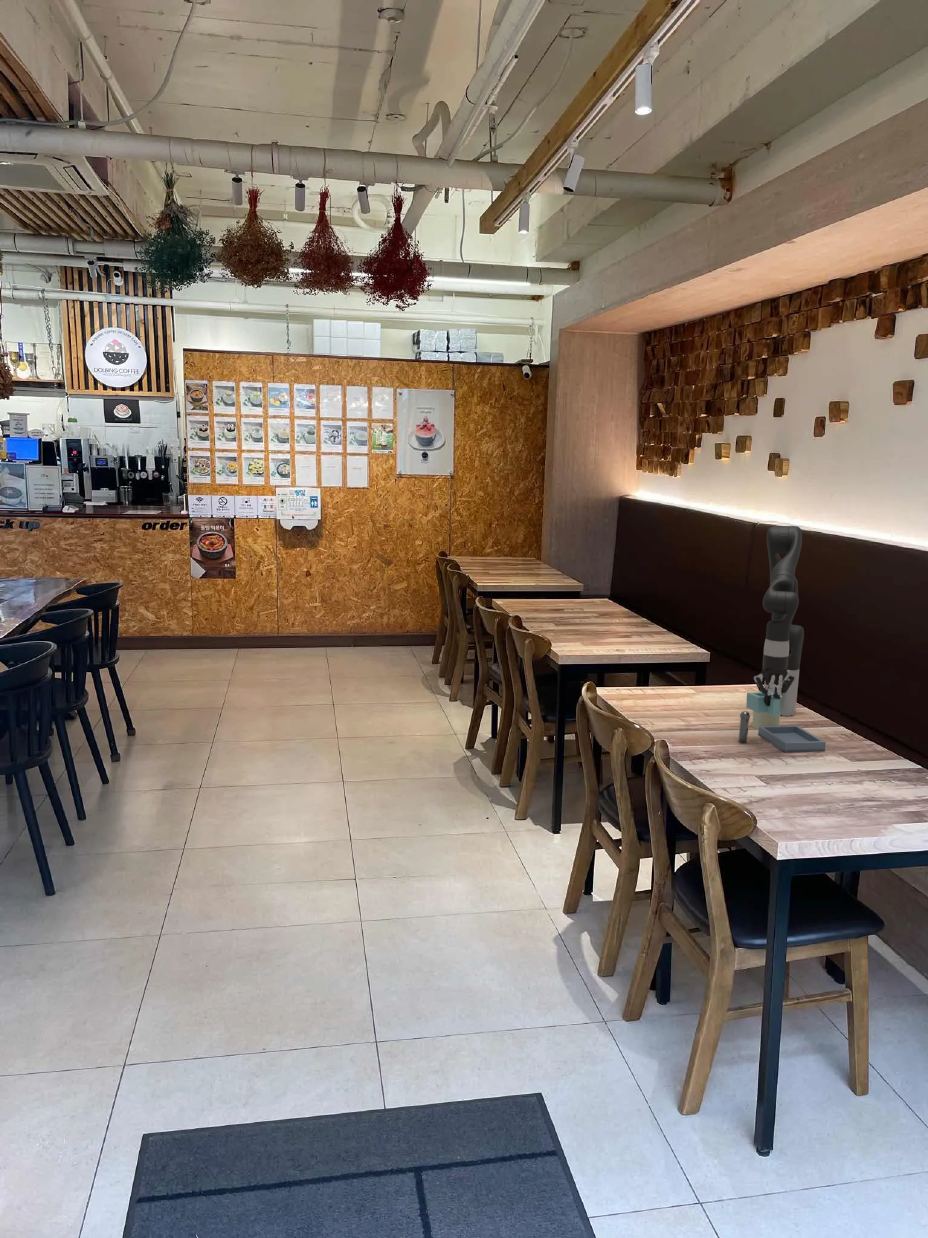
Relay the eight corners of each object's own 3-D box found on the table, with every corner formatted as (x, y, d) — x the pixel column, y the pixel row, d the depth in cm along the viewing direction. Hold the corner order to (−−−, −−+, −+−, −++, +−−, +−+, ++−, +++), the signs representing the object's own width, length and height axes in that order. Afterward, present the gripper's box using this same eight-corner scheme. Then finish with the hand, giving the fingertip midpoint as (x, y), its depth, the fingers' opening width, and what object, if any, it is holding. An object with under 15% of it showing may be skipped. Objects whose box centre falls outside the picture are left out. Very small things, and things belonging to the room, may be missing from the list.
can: (775, 723, 310) (778, 691, 307) (782, 732, 301) (785, 698, 298) (749, 722, 310) (751, 690, 308) (754, 730, 301) (757, 697, 299)
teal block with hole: (746, 707, 289) (746, 692, 288) (768, 706, 290) (769, 692, 290) (764, 715, 277) (765, 700, 276) (788, 715, 278) (788, 699, 277)
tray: (758, 735, 296) (758, 726, 296) (796, 734, 299) (797, 725, 298) (784, 752, 279) (785, 743, 279) (824, 751, 282) (825, 742, 281)
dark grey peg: (736, 740, 290) (738, 710, 288) (744, 740, 290) (747, 709, 288) (740, 744, 287) (743, 712, 285) (749, 743, 287) (752, 712, 285)
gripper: (790, 650, 282) (785, 701, 285) (750, 650, 280) (745, 702, 283) (802, 655, 274) (797, 708, 278) (761, 656, 272) (756, 709, 276)
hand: (771, 705), depth 280 cm, fingers closed on teal block with hole
